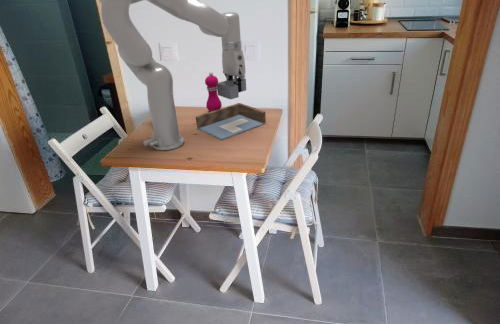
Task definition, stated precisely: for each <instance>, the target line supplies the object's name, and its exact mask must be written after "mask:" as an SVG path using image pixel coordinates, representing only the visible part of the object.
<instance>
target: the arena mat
mask: <svg viewBox="0 0 500 324" xmlns="http://www.w3.org/2000/svg"><path fill="white" fill-rule="evenodd" d="M263 125H266V123H261V122H258V121H255V120H252V119H250V118H247V117H244V116H242V115H237V116H234V117H231V118H228V119H225V120H222V121H219V122H216V123H213V124H210V125H207V126H204V127H201V128H197V127H196V129H197V130H198V131H200V132H201V131H202V132H203V133H206V134H208V135H210V136H212V137H214V138H216V139H218V140H220V141H224V140H227V139H229V138H232V137H235V136H238V135H240V134H242V133H245V132H248V131H251V130H253V129H255V128H258V127H261V126H263Z"/></svg>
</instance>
